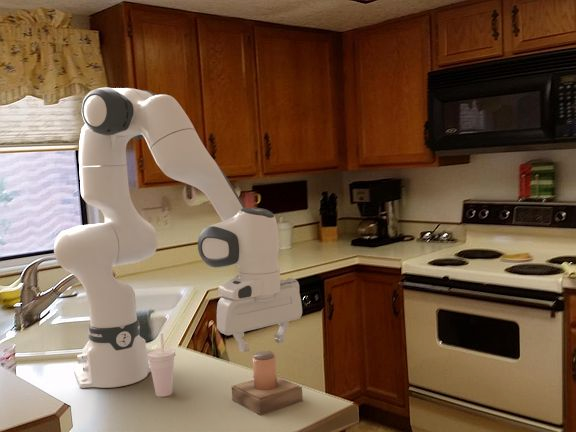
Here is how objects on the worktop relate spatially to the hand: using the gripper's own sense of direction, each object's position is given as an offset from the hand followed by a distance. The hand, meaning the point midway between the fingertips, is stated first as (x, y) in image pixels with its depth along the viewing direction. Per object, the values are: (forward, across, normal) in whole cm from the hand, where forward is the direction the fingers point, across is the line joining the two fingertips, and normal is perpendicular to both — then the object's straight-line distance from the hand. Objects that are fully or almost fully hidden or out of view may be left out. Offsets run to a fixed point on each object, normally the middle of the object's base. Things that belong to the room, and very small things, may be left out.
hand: (262, 346), depth 132 cm
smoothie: (+13, +15, -19) cm, 27 cm away
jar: (+9, 0, +1) cm, 9 cm away
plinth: (+12, 0, +1) cm, 12 cm away
